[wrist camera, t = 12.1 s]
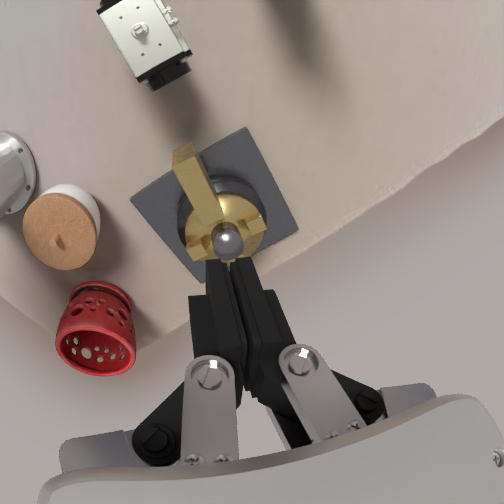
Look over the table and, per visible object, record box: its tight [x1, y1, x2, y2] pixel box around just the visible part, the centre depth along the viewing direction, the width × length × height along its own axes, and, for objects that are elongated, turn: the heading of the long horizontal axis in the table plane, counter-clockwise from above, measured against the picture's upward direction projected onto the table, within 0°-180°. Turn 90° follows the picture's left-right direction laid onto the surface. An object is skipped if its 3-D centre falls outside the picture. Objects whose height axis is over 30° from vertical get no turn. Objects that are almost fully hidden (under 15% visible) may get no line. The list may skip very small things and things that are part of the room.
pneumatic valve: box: [97, 0, 193, 92], centre depth 21 cm, size 6×12×12 cm, turn 25°
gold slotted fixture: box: [172, 142, 267, 266], centre depth 34 cm, size 17×10×6 cm, turn 21°
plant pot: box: [55, 281, 136, 376], centre depth 42 cm, size 13×13×12 cm
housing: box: [130, 127, 299, 283], centre depth 40 cm, size 18×18×4 cm
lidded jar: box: [22, 184, 101, 270], centre depth 32 cm, size 11×11×9 cm
